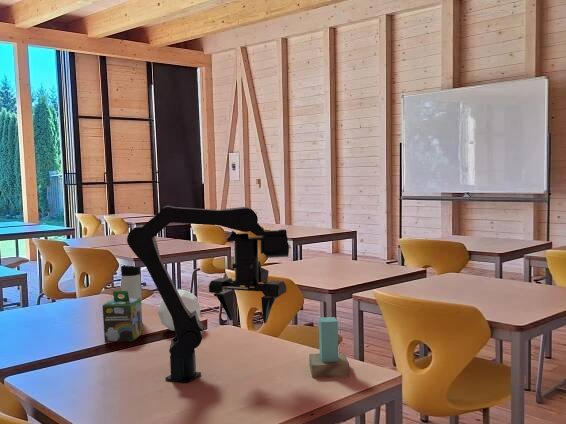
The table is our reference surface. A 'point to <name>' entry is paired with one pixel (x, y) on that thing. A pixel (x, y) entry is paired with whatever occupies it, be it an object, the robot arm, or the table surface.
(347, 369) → the base brick
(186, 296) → the geodesic sphere
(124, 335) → the chalk box
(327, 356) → the pillar brick
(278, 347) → the table surface
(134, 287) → the travel mug
